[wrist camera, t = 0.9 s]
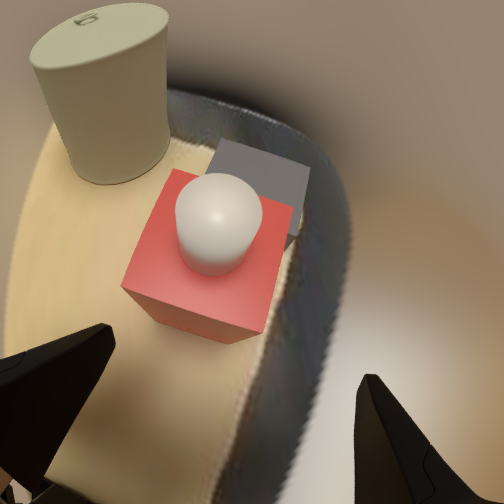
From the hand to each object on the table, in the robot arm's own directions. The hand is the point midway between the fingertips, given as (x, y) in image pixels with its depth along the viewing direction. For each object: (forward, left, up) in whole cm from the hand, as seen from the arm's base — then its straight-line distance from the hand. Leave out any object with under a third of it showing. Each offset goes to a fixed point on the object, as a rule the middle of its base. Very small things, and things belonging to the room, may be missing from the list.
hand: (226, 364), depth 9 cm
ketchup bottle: (+4, +2, -9) cm, 10 cm away
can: (+14, +13, -10) cm, 21 cm away
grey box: (+12, +1, -10) cm, 15 cm away
